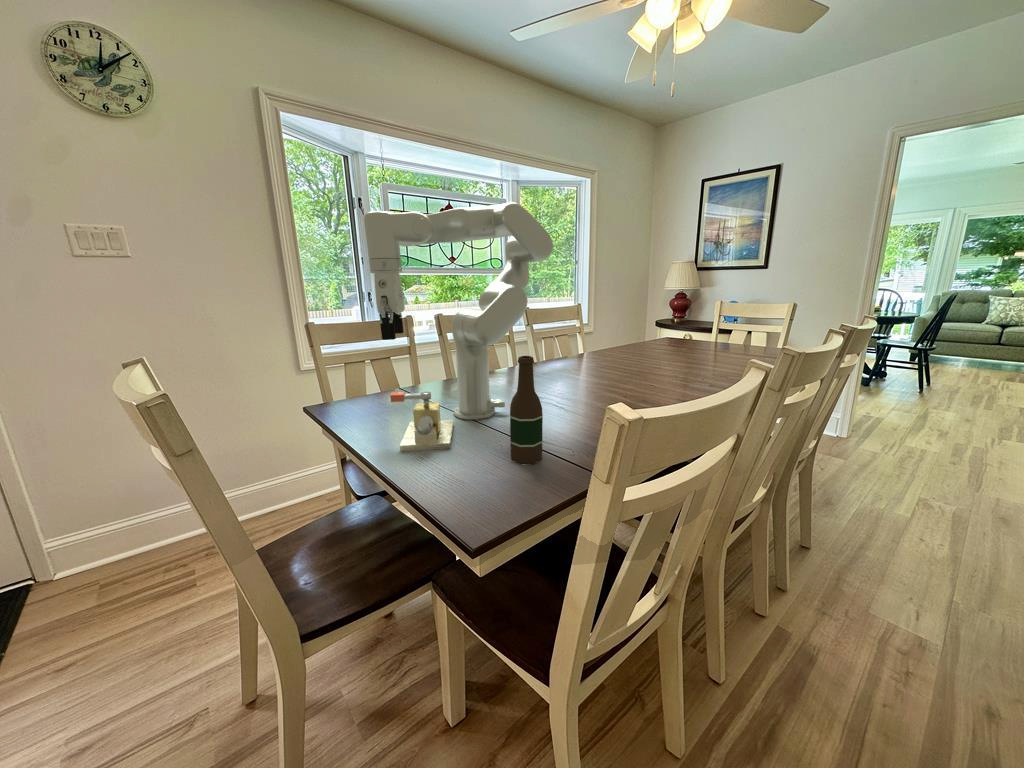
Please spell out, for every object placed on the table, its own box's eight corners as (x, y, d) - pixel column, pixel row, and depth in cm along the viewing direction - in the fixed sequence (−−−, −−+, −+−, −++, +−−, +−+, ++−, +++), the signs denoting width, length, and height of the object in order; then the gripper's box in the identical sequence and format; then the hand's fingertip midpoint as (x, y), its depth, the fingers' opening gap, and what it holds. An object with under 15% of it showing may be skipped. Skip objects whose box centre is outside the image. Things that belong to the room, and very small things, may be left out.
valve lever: (431, 397, 103) (431, 390, 102) (430, 400, 100) (430, 393, 100) (392, 398, 102) (392, 392, 102) (390, 402, 100) (390, 395, 99)
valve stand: (453, 424, 113) (451, 389, 110) (450, 448, 97) (447, 408, 94) (410, 426, 112) (407, 391, 109) (400, 451, 96) (396, 410, 93)
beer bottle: (517, 468, 87) (516, 362, 81) (504, 454, 94) (502, 355, 87) (548, 461, 90) (550, 358, 84) (533, 448, 97) (533, 352, 90)
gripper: (393, 266, 89) (401, 341, 93) (407, 266, 105) (414, 330, 110) (359, 267, 88) (369, 342, 93) (379, 267, 105) (386, 331, 110)
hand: (393, 336), depth 101 cm, fingers open, 9 cm apart
